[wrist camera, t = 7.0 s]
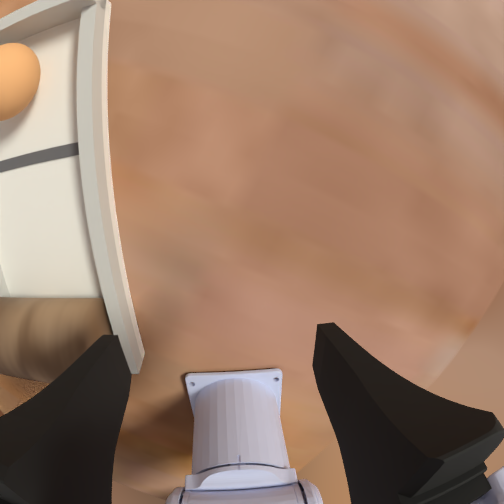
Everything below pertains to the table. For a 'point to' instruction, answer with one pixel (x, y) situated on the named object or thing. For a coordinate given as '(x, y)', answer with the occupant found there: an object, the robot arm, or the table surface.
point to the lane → (64, 169)
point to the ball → (17, 78)
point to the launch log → (48, 334)
